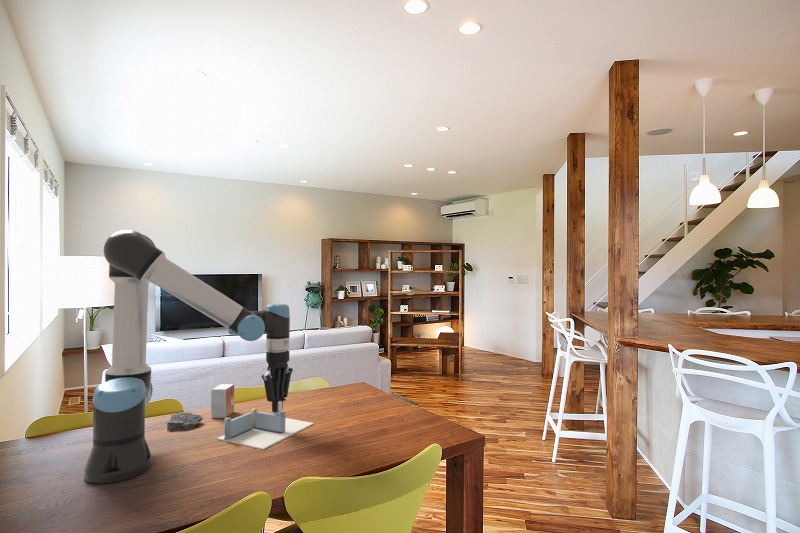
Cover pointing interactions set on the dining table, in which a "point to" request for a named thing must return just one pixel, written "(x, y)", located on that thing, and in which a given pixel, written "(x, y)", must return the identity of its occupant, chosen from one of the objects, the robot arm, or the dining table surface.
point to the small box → (222, 401)
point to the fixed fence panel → (237, 425)
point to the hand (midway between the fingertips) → (277, 420)
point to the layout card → (266, 435)
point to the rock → (183, 421)
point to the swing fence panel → (268, 420)
